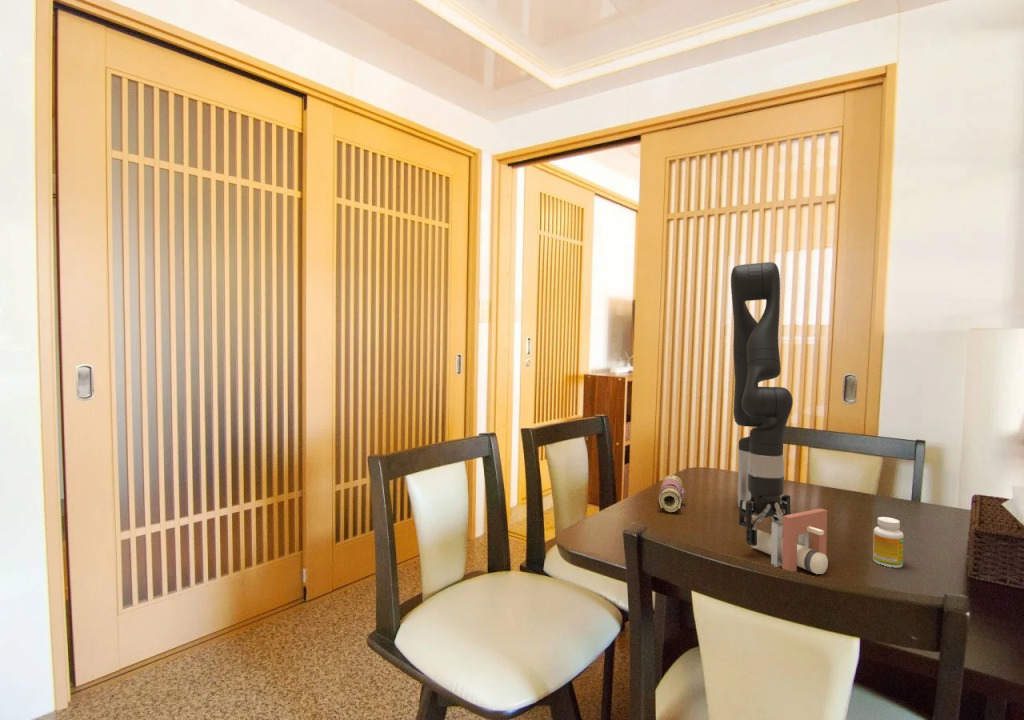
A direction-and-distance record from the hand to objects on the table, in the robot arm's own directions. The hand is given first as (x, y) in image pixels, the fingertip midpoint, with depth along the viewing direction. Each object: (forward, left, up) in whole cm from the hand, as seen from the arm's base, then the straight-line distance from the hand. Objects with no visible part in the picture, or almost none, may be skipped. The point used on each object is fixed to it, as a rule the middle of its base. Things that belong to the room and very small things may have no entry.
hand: (764, 541), depth 122 cm
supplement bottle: (-19, +16, -2) cm, 25 cm away
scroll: (-6, -37, -3) cm, 38 cm away
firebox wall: (0, +11, -2) cm, 12 cm away
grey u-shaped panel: (0, +6, -2) cm, 7 cm away
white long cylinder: (0, +6, -2) cm, 6 cm away
